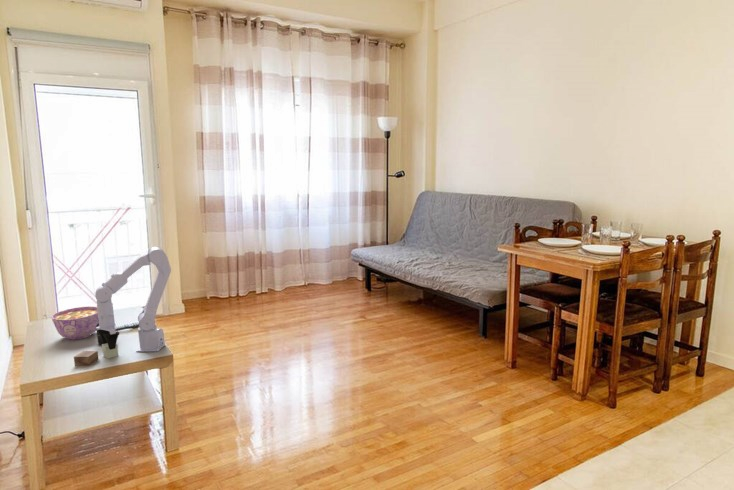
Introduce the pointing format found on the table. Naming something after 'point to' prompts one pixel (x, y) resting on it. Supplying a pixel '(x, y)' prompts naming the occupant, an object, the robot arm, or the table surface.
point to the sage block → (109, 351)
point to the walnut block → (86, 358)
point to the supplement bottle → (99, 336)
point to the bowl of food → (76, 322)
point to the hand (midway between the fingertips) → (109, 346)
